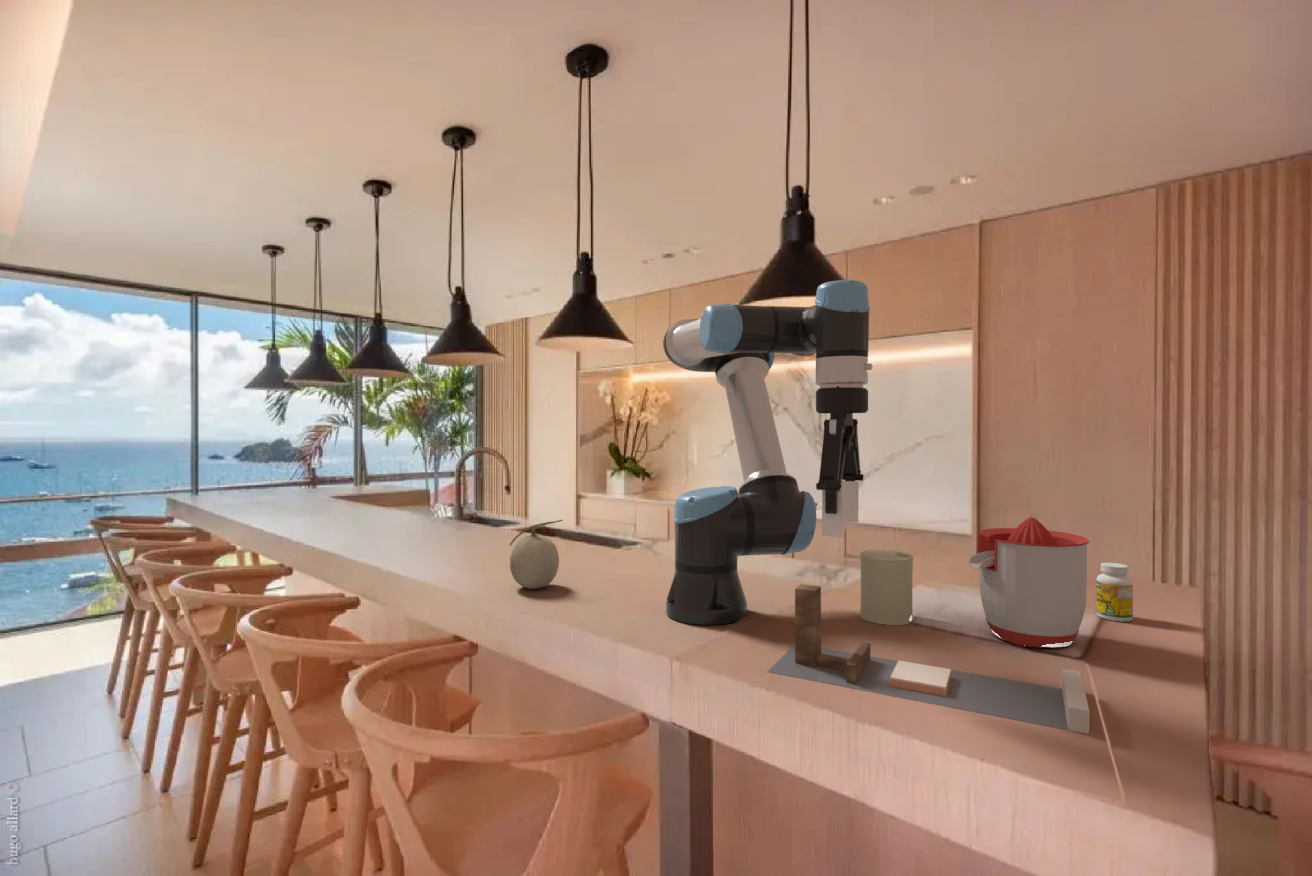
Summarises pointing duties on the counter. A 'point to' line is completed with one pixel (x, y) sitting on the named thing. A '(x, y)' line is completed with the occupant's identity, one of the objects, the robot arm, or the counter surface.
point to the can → (886, 587)
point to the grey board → (965, 691)
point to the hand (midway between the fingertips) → (841, 528)
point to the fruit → (534, 559)
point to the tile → (921, 678)
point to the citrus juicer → (1032, 583)
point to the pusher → (811, 637)
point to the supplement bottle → (1114, 593)
